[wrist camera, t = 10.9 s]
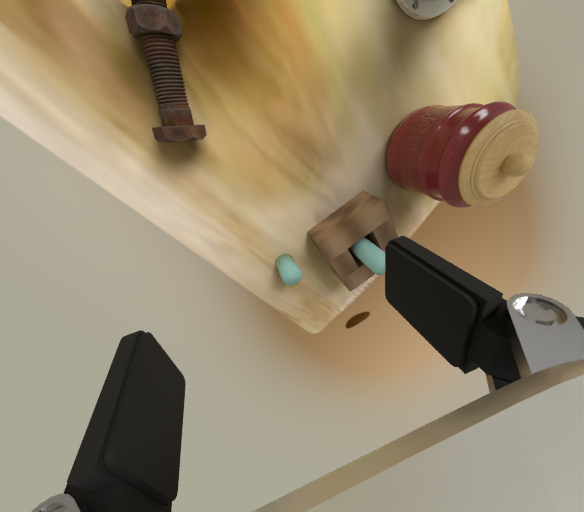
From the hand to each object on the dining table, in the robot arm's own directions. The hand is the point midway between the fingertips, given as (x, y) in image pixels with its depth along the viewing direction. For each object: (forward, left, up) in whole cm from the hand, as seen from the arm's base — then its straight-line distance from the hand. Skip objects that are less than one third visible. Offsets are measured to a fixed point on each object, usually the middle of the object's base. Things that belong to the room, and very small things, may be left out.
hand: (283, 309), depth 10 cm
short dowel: (-5, +18, -30) cm, 35 cm away
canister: (-32, +5, -31) cm, 44 cm away
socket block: (-18, +17, -30) cm, 39 cm away
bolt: (+3, -13, -31) cm, 33 cm away
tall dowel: (-18, +17, -30) cm, 39 cm away
